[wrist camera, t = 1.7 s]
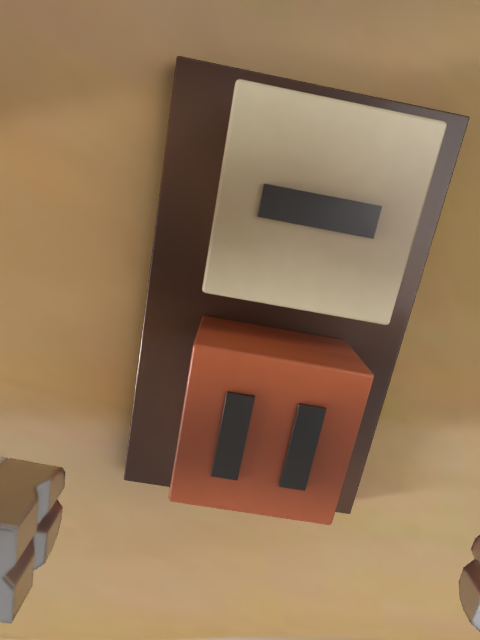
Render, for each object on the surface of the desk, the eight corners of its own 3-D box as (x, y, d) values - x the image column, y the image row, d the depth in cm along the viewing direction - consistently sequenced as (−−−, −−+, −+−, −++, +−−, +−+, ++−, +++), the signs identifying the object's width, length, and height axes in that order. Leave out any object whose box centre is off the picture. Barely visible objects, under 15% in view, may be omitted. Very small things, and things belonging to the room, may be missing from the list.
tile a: (236, 110, 11) (235, 75, 8) (397, 143, 11) (451, 120, 8) (209, 274, 12) (200, 294, 9) (356, 301, 12) (391, 327, 9)
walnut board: (179, 63, 11) (176, 55, 11) (459, 121, 12) (471, 116, 11) (127, 469, 14) (123, 480, 14) (345, 503, 15) (350, 514, 14)
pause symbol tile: (202, 314, 12) (192, 345, 10) (346, 339, 13) (377, 376, 10) (181, 443, 13) (166, 504, 11) (313, 464, 14) (332, 529, 11)
